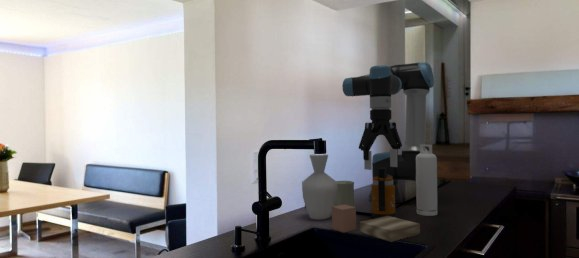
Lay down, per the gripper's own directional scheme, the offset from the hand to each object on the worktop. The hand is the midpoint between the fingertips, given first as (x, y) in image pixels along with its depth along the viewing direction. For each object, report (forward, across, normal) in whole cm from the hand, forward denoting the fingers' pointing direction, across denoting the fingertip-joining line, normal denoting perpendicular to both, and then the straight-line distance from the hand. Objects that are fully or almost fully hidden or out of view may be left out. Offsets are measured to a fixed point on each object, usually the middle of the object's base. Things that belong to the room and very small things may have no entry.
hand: (381, 168), depth 142 cm
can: (+21, +10, +31) cm, 39 cm away
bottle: (+21, +29, +2) cm, 36 cm away
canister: (+21, +10, +8) cm, 24 cm away
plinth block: (+22, -4, -7) cm, 23 cm away
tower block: (+21, -12, +6) cm, 26 cm away
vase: (+21, -8, +25) cm, 34 cm away
